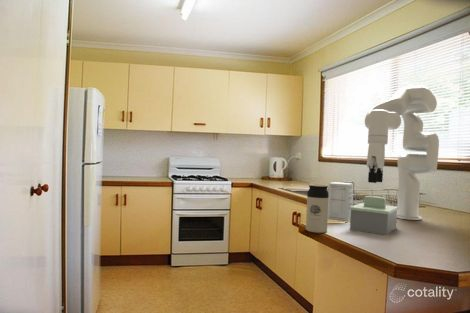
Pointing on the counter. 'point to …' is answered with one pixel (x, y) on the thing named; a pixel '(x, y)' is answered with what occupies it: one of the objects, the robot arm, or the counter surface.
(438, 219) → the counter surface
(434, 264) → the counter surface
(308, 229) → the travel mug
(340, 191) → the supplement box
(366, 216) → the tub
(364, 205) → the lid
